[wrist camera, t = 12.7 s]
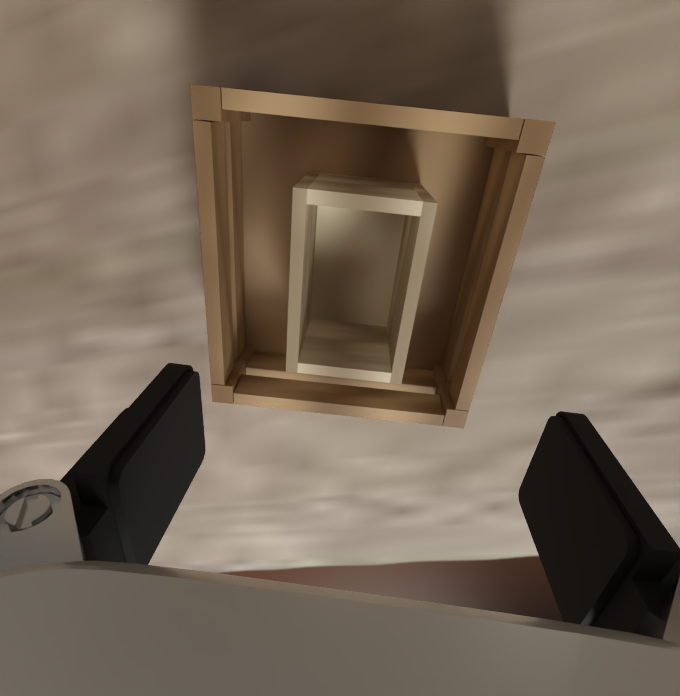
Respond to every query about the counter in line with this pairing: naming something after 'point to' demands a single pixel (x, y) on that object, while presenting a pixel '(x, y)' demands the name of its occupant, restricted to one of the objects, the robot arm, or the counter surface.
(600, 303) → the counter surface
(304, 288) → the small crate
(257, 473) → the counter surface
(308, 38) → the counter surface
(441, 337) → the crate
